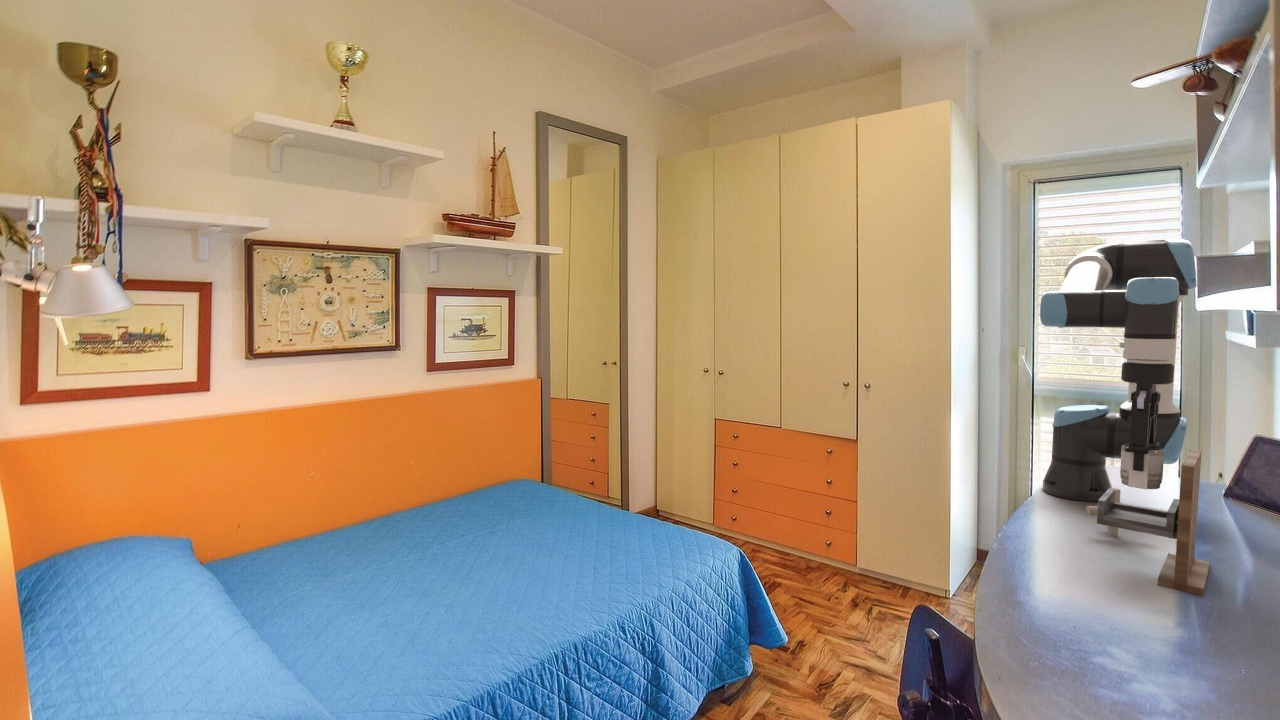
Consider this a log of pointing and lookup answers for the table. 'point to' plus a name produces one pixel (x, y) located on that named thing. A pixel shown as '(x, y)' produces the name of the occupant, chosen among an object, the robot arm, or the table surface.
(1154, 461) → the camera lens
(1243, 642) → the table surface
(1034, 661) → the table surface
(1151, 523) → the cup bracket
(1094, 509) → the pipe connector
